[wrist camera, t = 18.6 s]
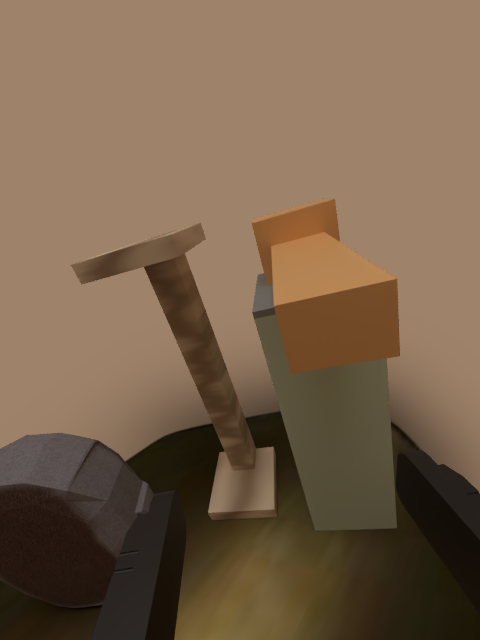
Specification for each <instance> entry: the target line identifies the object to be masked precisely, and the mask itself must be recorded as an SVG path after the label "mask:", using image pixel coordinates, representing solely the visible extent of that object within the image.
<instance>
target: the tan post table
mask: <svg viewBox="0 0 480 640" xmlns="http://www.w3.org/2000/svg"><path fill="white" fill-rule="evenodd" d="M203 240H205V235H204V232H203V229H202V226H201V223H199V224H195V225H192V226H189V227H186V228H182V229H179V230H176V231H173V232H169V233H166V234H163V235H159V236H156V237H153V238H150V239H147V240H143V241H140V242H137V243H133V244H130V245H127V246H124V247H121V248H118V249H115V250H112V251H109V252H107V253H104V254H101V255H98V256H95V257H93V258H89V259H87V260H84V261H81V262H78V263H75V264H72V265H71V266H72V268H73V270H74V271H75V273H76V275H77V277H78V278H79V280H80V282H81V284H85V283H88V282H92V281H95V280H99V279H102V278H106V277H109V276H113V275H117V274H120V273H123V272H127V271H131V270H134V269H138V268H141V267H144V268H145V270H146V273H147V275H148V277H149V279H150V282H151V284H152V286H153V289H154V291H155V293H156V295H157V298H158V300H159V302H160V305H161V307H162V309H163V311H164V313H165V316H166V318H167V320H168V323H169V325H170V327H171V330H172V332H173V334H174V336H175V339H176V341H177V343H178V346H179V348H180V350H181V352H182V355H183V357H184V359H185V362H186V364H187V366H188V368H189V371H190V373H191V375H192V378H193V380H194V382H195V384H196V387H197V389H198V391H199V393H200V396H201V398H202V400H203V402H204V405H205V407H206V410H207V412H208V414H209V416H210V418H211V421H212V423H213V425H214V428H215V430H216V432H217V435H218V437H219V439H220V441H221V444H222V446H223V448H224V451H225V452H220V453H219V458H218V463H217V469H216V474H215V479H214V484H213V489H212V494H211V500H210V505H209V510H208V514H209V516H210V518H211V519H212V520H226V519H247V518H268V517H277V483H276V453H275V450H274V447H267V448H258V449H256V447H255V444H254V442H253V439H252V436H251V433H250V431H249V428H248V425H247V422H246V420H245V417H244V414H243V412H242V409H241V406H240V403H239V401H238V398H237V395H236V393H235V390H234V387H233V384H232V382H231V379H230V376H229V373H228V371H227V368H226V365H225V363H224V360H223V357H222V354H221V351H220V349H219V346H218V343H217V341H216V338H215V335H214V332H213V330H212V327H211V324H210V322H209V319H208V316H207V313H206V310H205V308H204V305H203V302H202V299H201V297H200V294H199V291H198V289H197V286H196V283H195V280H194V278H193V275H192V272H191V270H190V267H189V264H188V261H187V259H186V256H185V253H186V252H187V251H189V250H190V249H192V248H193V247H195V246H196V245H198V244H199V243H201V242H202V241H203Z"/></svg>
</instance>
